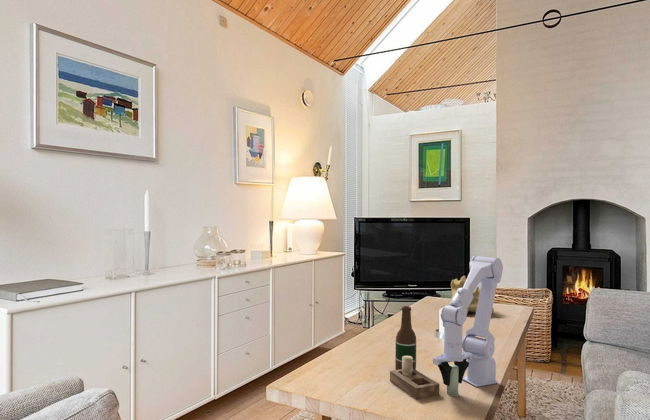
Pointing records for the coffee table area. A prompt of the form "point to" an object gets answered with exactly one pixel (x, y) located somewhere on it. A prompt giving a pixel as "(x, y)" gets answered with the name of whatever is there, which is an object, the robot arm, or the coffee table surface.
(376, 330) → the coffee table surface
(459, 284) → the decorative coral
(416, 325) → the coffee table surface
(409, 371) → the birch peg
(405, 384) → the socket board
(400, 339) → the beer bottle
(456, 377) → the green peg
